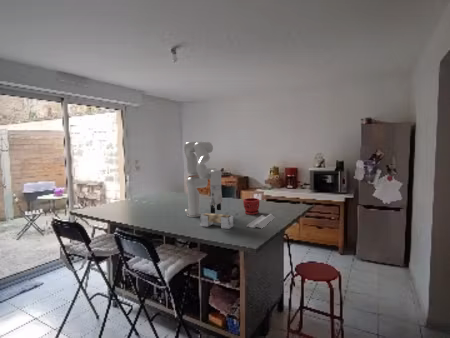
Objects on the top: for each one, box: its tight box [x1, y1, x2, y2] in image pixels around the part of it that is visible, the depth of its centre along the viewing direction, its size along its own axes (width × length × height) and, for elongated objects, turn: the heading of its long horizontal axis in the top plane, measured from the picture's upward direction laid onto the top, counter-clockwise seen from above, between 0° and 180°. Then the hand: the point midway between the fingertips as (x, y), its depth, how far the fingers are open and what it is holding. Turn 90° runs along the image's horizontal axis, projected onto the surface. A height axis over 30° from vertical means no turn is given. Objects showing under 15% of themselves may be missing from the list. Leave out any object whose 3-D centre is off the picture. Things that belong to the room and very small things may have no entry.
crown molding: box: [245, 213, 276, 230], centre depth 203 cm, size 31×12×4 cm, turn 153°
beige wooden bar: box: [203, 212, 231, 224], centre depth 195 cm, size 18×4×5 cm, turn 67°
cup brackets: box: [199, 212, 234, 230], centre depth 195 cm, size 22×8×8 cm, turn 66°
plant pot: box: [242, 197, 260, 216], centre depth 230 cm, size 13×13×12 cm
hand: (215, 211), depth 195 cm, fingers open, 9 cm apart
